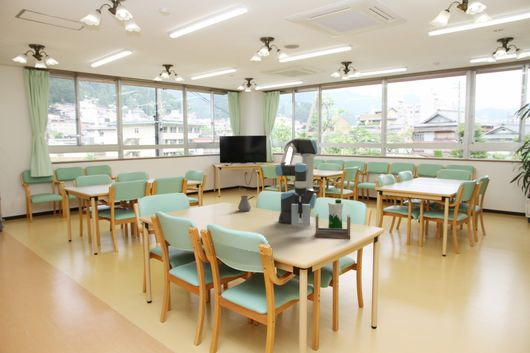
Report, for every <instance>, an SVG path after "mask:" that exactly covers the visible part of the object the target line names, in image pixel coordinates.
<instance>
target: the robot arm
mask: <svg viewBox="0 0 530 353" xmlns="http://www.w3.org/2000/svg"><path fill="white" fill-rule="evenodd" d="M283 148H284V149H283V156H282V159H281V162H280V164H277V165H276V166H275V175H276V176H277V177H294V182H293V184H294V186H295V188H294V190H288V191H282V192H281V194H280V213H279V216H278V222H279V223H281V224H284V225H285V224H287V225H292V204H298V212H297V213H298V223H303V212H302V204H310V210H312V209H314V208H315V207H316V203H317V193H315V190H314V158H315V157H316V155H317V154H318V152H319V150H318V143H317V139H315V138H293V139H292V140H289V141H288V142H287V143H286V144H285V146H284V147H283ZM297 154H298V155H299V154H300V157H301V158H302V159H301V161H302V162H301V163H296V164H292V163H293V160H294V156H295V155H297Z"/></svg>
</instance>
